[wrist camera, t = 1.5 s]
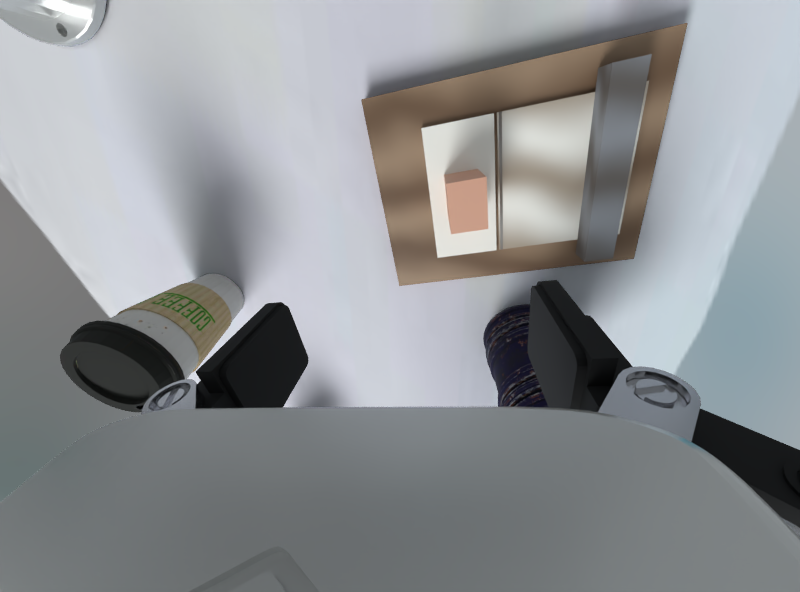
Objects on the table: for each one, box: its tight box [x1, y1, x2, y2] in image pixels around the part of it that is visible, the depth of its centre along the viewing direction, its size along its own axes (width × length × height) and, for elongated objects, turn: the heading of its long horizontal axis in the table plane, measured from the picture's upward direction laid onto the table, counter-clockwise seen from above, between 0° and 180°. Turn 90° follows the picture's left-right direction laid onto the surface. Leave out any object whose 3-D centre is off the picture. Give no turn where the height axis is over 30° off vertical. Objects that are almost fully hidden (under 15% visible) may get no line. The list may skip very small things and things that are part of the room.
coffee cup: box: [60, 273, 244, 412], centre depth 32 cm, size 10×10×15 cm
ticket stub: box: [421, 113, 497, 258], centre depth 25 cm, size 12×6×5 cm, turn 10°
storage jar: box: [483, 304, 549, 408], centre depth 30 cm, size 10×10×15 cm
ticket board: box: [362, 23, 687, 286], centre depth 26 cm, size 18×24×4 cm
